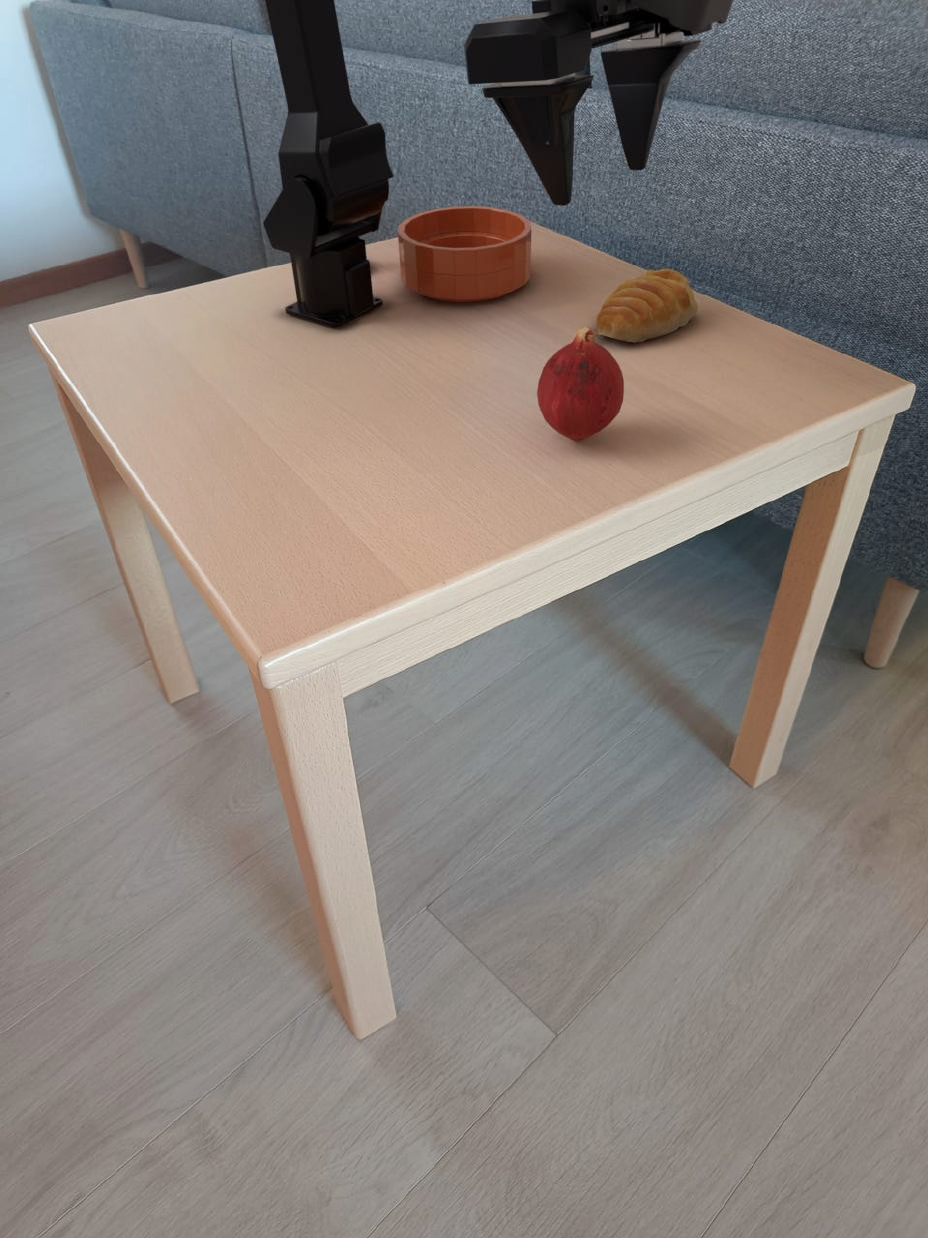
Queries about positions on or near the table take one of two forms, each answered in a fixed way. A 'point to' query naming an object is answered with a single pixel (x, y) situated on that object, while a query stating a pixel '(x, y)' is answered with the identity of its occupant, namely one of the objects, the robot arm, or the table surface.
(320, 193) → the robot arm
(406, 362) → the table surface
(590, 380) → the onion
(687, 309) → the pastry
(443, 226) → the bowl
